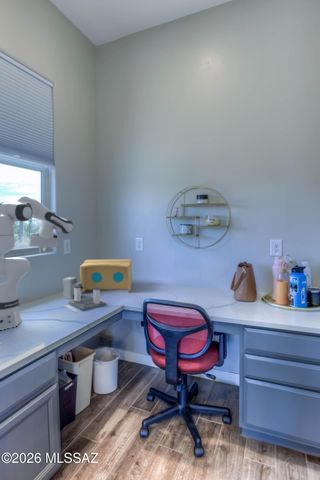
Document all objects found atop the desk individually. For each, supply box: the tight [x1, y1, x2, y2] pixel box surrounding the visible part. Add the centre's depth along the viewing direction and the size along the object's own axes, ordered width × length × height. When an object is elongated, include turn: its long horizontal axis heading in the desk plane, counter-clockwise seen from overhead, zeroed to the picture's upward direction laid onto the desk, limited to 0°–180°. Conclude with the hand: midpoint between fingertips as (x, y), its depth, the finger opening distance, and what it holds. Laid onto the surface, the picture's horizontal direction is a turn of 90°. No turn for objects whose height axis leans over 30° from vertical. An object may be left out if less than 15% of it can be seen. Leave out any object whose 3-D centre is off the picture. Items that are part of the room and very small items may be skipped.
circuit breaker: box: [62, 276, 83, 300], centre depth 211 cm, size 8×14×15 cm, turn 78°
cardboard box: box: [79, 258, 133, 294], centre depth 234 cm, size 40×26×24 cm, turn 93°
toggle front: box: [92, 287, 101, 304], centre depth 191 cm, size 3×4×11 cm
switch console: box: [63, 295, 108, 313], centre depth 193 cm, size 22×22×3 cm
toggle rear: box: [73, 285, 82, 302], centre depth 196 cm, size 3×4×11 cm
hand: (41, 252), depth 193 cm, fingers closed
